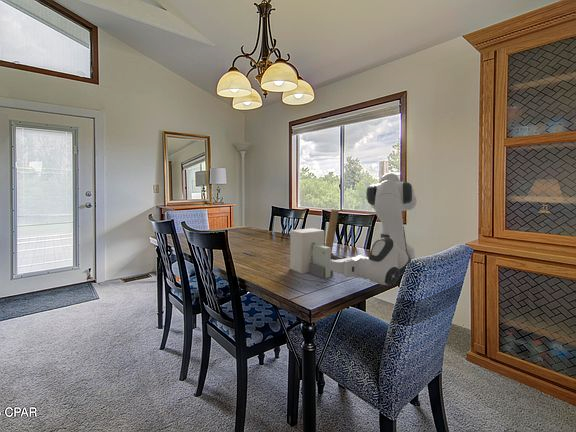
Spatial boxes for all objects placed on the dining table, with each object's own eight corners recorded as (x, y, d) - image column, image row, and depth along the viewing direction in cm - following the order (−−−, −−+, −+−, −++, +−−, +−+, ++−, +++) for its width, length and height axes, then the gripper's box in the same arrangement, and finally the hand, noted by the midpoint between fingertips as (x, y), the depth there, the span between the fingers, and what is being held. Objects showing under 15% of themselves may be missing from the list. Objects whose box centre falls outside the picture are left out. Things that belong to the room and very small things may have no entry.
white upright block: (330, 276, 147) (330, 247, 145) (324, 278, 145) (324, 248, 143) (317, 271, 155) (317, 244, 154) (311, 272, 153) (311, 244, 152)
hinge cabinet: (339, 274, 150) (339, 233, 148) (316, 279, 142) (316, 236, 140) (312, 264, 168) (312, 228, 166) (290, 268, 160) (290, 230, 158)
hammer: (343, 266, 173) (353, 214, 166) (338, 268, 169) (348, 215, 162) (316, 254, 186) (324, 205, 179) (311, 255, 183) (318, 206, 176)
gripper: (379, 255, 132) (355, 250, 144) (343, 262, 121) (321, 255, 133) (378, 270, 133) (355, 263, 144) (342, 277, 122) (320, 269, 133)
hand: (338, 259), depth 138 cm, fingers open, 8 cm apart
